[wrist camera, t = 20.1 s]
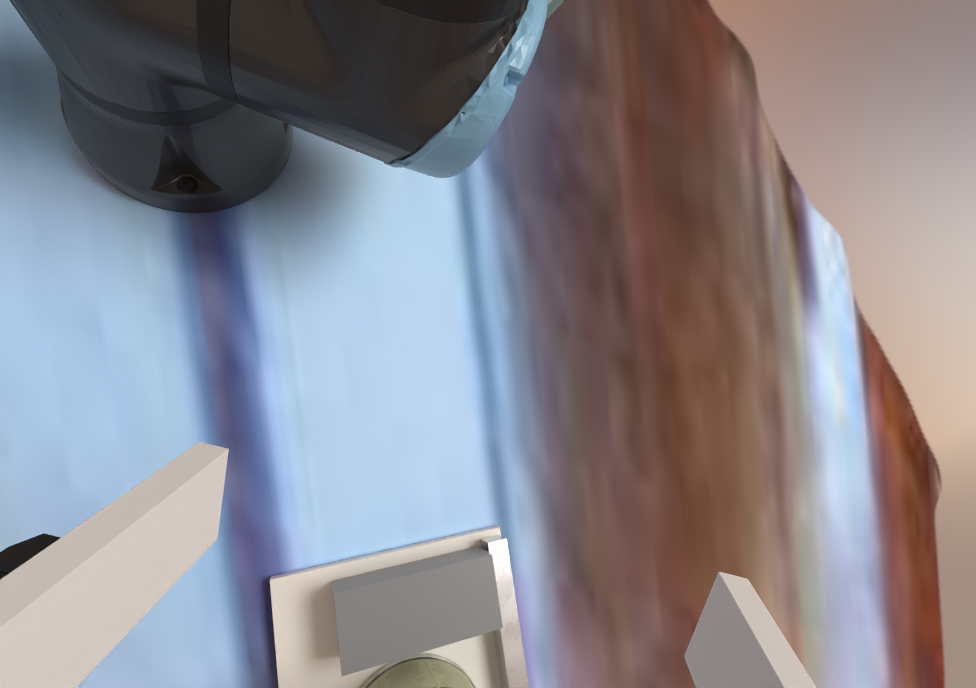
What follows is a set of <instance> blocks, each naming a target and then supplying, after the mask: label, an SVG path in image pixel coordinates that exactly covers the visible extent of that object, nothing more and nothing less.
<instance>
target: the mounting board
mask: <svg viewBox="0 0 976 688" xmlns="http://www.w3.org/2000/svg"><path fill="white" fill-rule="evenodd" d="M493 535H500V536H501V533H500V527H498V526H492V527H487V528H483V529H478V530H474V531H470V532H465V533H461V534H456V535H452V536H448V537H443V538H439V539H434V540H430V541H425V542H421V543H417V544H412V545H408V546H403V547H399V548H395V549H390V550H386V551H381V552H377V553H372V554H368V555H364V556H359V557H355V558H350V559H346V560H342V561H337V562H333V563H328V564H324V565H320V566H315V567H311V568H306V569H302V570H297V571H293V572H289V573H284V574H280V575H275V576H271V578H270V589H271V601H272V613H273V625H274V637H275V649H276V661H277V673H278V685H279V688H361V686H362V685H363V684H364V683H365V682H366V681H367V680H368V679H369V678H370V677H371V676H372V675H373V674H374V673H375V672H376V671H378V670H379V669H380V668H382V667H383V666H384V665H386V664H388V663H390V662H388V663H385V664H382V665H378V666H375V667H372V668H368V669H365V670H362V671H358V672H355V673H352V674H348V675H345V676H342V675H341V666H340V658H339V648H338V638H337V628H336V618H335V608H334V598H333V588H332V581H333V580H337V579H341V578H345V577H349V576H354V575H358V574H362V573H366V572H370V571H375V570H379V569H383V568H387V567H391V566H396V565H400V564H404V563H408V562H412V561H417V560H421V559H425V558H429V557H433V556H438V555H442V554H446V553H450V552H454V551H459V550H463V549H467V548H471V547H476V546H479V547H480V548H481V543H480V539H481V538H485V537H489V536H493ZM422 653H429V654H436V655H440V656H443V657H445V658H448V659H450V660H451V661H453V662H455V663H456V664H458V665H459V666H460V667H461V668H462V669H463V670H464V671H465V672H466V673H467V674H468V676H469V677H470V678H471V680H472V682H473V683H474V685H475V687H476V688H501V682H500V675H499V668H498V661H497V655H496V648H495V641H494V634H493V631H492V632H489V633H485V634H482V635H479V636H475V637H472V638H469V639H465V640H462V641H459V642H455V643H452V644H449V645H445V646H442V647H439V648H435V649H432V650H429V651H425V652H422Z"/></svg>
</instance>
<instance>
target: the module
mask: <svg viewBox="0 0 976 688" xmlns="http://www.w3.org/2000/svg"><path fill="white" fill-rule="evenodd" d="M332 588H333V598H334V608H335V618H336V628H337V638H338V648H339V658H340V666H341V675H342V676H345V675H348V674H352V673H355V672H358V671H362V670H365V669H368V668H372V667H375V666H378V665H382V664H385V663H388V662H392V661H395V660H398V659H402V658H405V657H408V656H412V655H415V654H418V653H422V652H425V651H429V650H432V649H435V648H439V647H442V646H445V645H449V644H452V643H455V642H459V641H462V640H465V639H469V638H472V637H475V636H479V635H482V634H485V633H489V632H492V631H495V630H499V629H502V628H503V625H502V618H501V611H500V604H499V598H498V591H497V584H496V577H495V570H494V563H493V556H492V554H491V553H489V552H487V551H486V550H484V549H482V548H480V547H479V546H476V547H471V548H467V549H463V550H459V551H454V552H450V553H446V554H442V555H438V556H433V557H429V558H425V559H421V560H417V561H412V562H408V563H404V564H400V565H396V566H391V567H387V568H383V569H379V570H375V571H370V572H366V573H362V574H358V575H354V576H349V577H345V578H341V579H337V580H333V581H332Z"/></svg>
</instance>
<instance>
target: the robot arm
mask: <svg viewBox="0 0 976 688" xmlns="http://www.w3.org/2000/svg"><path fill="white" fill-rule="evenodd" d="M10 1H11V3H12V4H13V6H14V7H15V8H16V10H17V11H18V13H19V14H20V16H21V17H22V18H23V20H24V21H25V23H26V24H27V25H28V27H29V28H30V30H31V31H32V33H33V34H34V35H35V37H36V38H37V40H38V41H39V43H40V44H41V45H42V47H43V48H44V50H45V51H46V52H47V54H48V55H49V57H50V58H51V59H52V61H53V62H54V64H55V65H56V67H57V73H58V81H59V87H60V93H61V107H62V112H63V116H64V119H65V122H66V125H67V127H68V130H69V132H70V134H71V136H72V138H73V140H74V141H75V143H76V144H77V146H78V148H79V149H80V150H81V151H82V153H83V154H84V155H85V157H86V158H87V159H88V160H89V162H90V163H91V164H92V166H93V167H94V168H95V169H96V170H97V171H98V173H99V174H100V175H101V176H103V177H104V178H105V179H106V180H107V181H108V182H109V183H111V184H112V185H113V186H115V187H116V188H117V189H119V190H120V191H122V192H124V193H125V194H127V195H129V196H131V197H133V198H135V199H137V200H139V201H141V202H144V203H147V204H149V205H152V206H156V207H159V208H163V209H168V210H173V211H181V212H209V211H216V210H221V209H226V208H229V207H233V206H236V205H239V204H241V203H243V202H246V201H248V200H250V199H252V198H253V197H255V196H257V195H258V194H260V193H261V192H262V191H264V190H265V189H266V188H267V187H268V186H269V185H270V184H271V183H272V182H273V181H274V180H275V179H276V178H277V177H278V175H279V174H280V173H281V171H282V169H283V168H284V166H285V164H286V162H287V160H288V157H289V154H290V150H291V145H292V126H295V127H297V128H300V129H302V130H305V131H307V132H310V133H312V134H315V135H318V136H320V137H323V138H325V139H328V140H330V141H333V142H335V143H338V144H340V145H343V146H345V147H348V148H350V149H353V150H355V151H358V152H360V153H363V154H365V155H368V156H370V157H373V158H375V159H378V160H380V161H383V162H384V163H385V164H387V165H390V166H392V167H404V168H407V169H410V170H414V171H417V172H420V173H423V174H426V175H430V176H433V177H438V178H447V177H452V176H454V175H457V174H459V173H461V172H462V171H464V170H465V169H466V168H468V167H469V166H470V165H471V164H472V163H473V162H474V161H475V160H476V159H477V158H478V156H479V155H480V154H481V153H482V151H483V150H484V149H485V147H486V146H487V145H488V143H489V142H490V140H491V139H492V137H493V136H494V134H495V132H496V131H497V129H498V128H499V126H500V124H501V123H502V121H503V119H504V118H505V116H506V114H507V112H508V110H509V108H510V106H511V105H512V103H513V100H514V98H515V93H516V88H517V86H518V85H519V84H520V82H521V81H522V79H523V78H524V76H525V74H526V72H527V70H528V68H529V66H530V64H531V62H532V60H533V57H534V55H535V52H536V49H537V47H538V44H539V41H540V38H541V34H542V31H543V28H544V24H545V19H546V14H547V6H548V0H10ZM227 457H228V449H227V448H223V447H219V446H215V445H211V444H207V443H203V442H199V443H198V444H196V445H195V446H193V447H192V448H190V449H189V450H187V451H186V452H185V453H183V454H182V455H180V456H179V457H177V458H176V459H174V460H173V461H172V462H170V463H169V464H167V465H166V466H164V467H163V468H161V469H160V470H158V471H157V472H156V473H154V474H153V475H151V476H150V477H148V478H147V479H145V480H144V481H143V482H141V483H140V484H138V485H137V486H135V487H134V488H132V489H131V490H130V491H128V492H127V493H125V494H124V495H122V496H121V497H119V498H118V499H116V500H115V501H114V502H112V503H111V504H109V505H108V506H106V507H105V508H103V509H102V510H101V511H99V512H98V513H96V514H95V515H93V516H92V517H90V518H89V519H87V520H86V521H85V522H83V523H82V524H80V525H79V526H77V527H76V528H74V529H73V530H72V531H70V532H69V533H67V534H66V535H64V536H63V537H61V538H60V537H56V536H52V535H48V534H41V535H38V536H36V537H33V538H31V539H28V540H25V541H23V542H20V543H18V544H15V545H12V546H10V547H8V548H6V549H5V550H3V551H1V552H0V688H76V687H77V686H78V685H79V684H80V683H81V682H82V681H83V679H84V678H85V677H86V676H87V675H88V674H89V673H90V672H91V671H92V670H93V669H94V668H95V667H96V666H97V665H98V664H99V663H100V662H101V661H102V660H103V659H104V657H105V656H106V655H107V654H108V653H109V652H110V651H111V650H112V649H113V648H114V647H115V646H116V645H117V644H118V643H119V642H120V641H121V640H122V639H123V638H124V636H125V635H126V634H127V633H128V632H129V631H130V630H131V629H132V628H133V627H134V626H135V625H136V624H137V623H138V622H139V621H140V620H141V619H142V618H143V617H144V615H145V614H146V613H147V612H148V611H149V610H150V609H151V608H152V607H153V606H154V605H155V604H156V603H157V602H158V601H159V600H160V599H161V598H162V597H163V596H164V594H165V593H166V592H167V591H168V590H169V589H170V588H171V587H172V586H173V585H174V584H175V583H176V582H177V581H178V580H179V579H180V578H181V577H182V576H183V575H184V573H185V572H186V571H187V570H188V569H189V568H190V567H191V566H192V565H193V564H194V563H195V562H196V561H197V560H198V559H199V558H200V557H201V556H202V555H203V554H204V552H205V551H206V550H207V549H208V548H209V547H210V546H211V545H212V544H213V543H214V542H215V541H216V540H217V538H218V530H219V522H220V514H221V506H222V498H223V490H224V482H225V473H226V465H227ZM684 657H685V660H686V662H687V665H688V668H689V670H690V673H691V676H692V678H693V681H694V684H695V686H696V688H816V686H815V684H814V683H813V681H812V680H811V678H810V677H809V675H808V673H807V672H806V670H805V669H804V667H803V666H802V664H801V662H800V661H799V659H798V658H797V656H796V654H795V653H794V651H793V650H792V648H791V647H790V645H789V643H788V642H787V640H786V639H785V637H784V636H783V634H782V632H781V631H780V629H779V628H778V626H777V624H776V623H775V621H774V620H773V618H772V617H771V615H770V613H769V612H768V610H767V609H766V607H765V606H764V604H763V602H762V601H761V599H760V598H759V596H758V594H757V593H756V591H755V590H754V588H753V587H752V585H751V583H750V582H749V580H748V579H746V578H742V577H738V576H734V575H730V574H726V573H722V572H719V573H718V575H717V577H716V580H715V582H714V585H713V587H712V590H711V592H710V594H709V597H708V599H707V602H706V604H705V607H704V609H703V612H702V614H701V616H700V619H699V621H698V624H697V626H696V629H695V631H694V633H693V636H692V638H691V641H690V643H689V646H688V648H687V651H686V653H685V655H684Z"/></svg>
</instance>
